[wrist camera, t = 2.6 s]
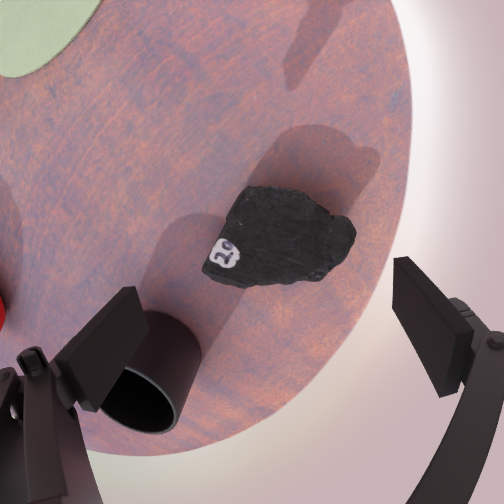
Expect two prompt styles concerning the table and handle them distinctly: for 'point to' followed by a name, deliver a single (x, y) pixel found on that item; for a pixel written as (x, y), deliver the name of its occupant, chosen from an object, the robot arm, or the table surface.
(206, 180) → the table surface
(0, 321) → the tomato
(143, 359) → the mug
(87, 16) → the mat
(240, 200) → the rock
